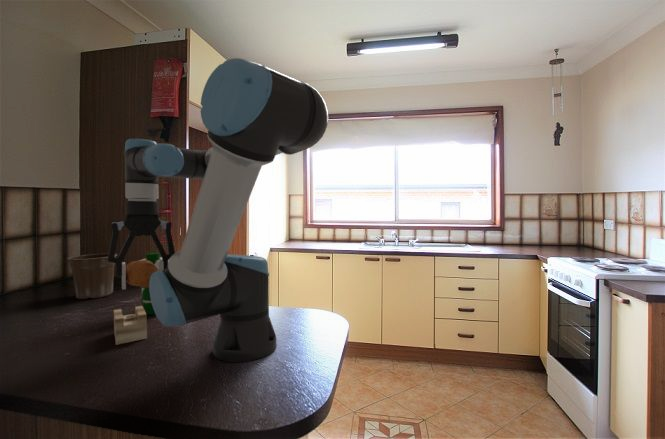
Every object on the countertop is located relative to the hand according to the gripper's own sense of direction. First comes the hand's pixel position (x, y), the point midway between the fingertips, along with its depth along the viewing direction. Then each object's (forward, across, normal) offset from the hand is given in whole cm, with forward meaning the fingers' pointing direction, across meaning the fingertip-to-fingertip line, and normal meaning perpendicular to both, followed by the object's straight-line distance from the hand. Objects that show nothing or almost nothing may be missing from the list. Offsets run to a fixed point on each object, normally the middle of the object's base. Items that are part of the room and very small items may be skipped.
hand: (143, 285), depth 88 cm
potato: (+1, 0, 0) cm, 1 cm away
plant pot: (+17, +12, -63) cm, 67 cm away
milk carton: (+16, -6, -24) cm, 30 cm away
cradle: (+15, +3, -4) cm, 15 cm away
